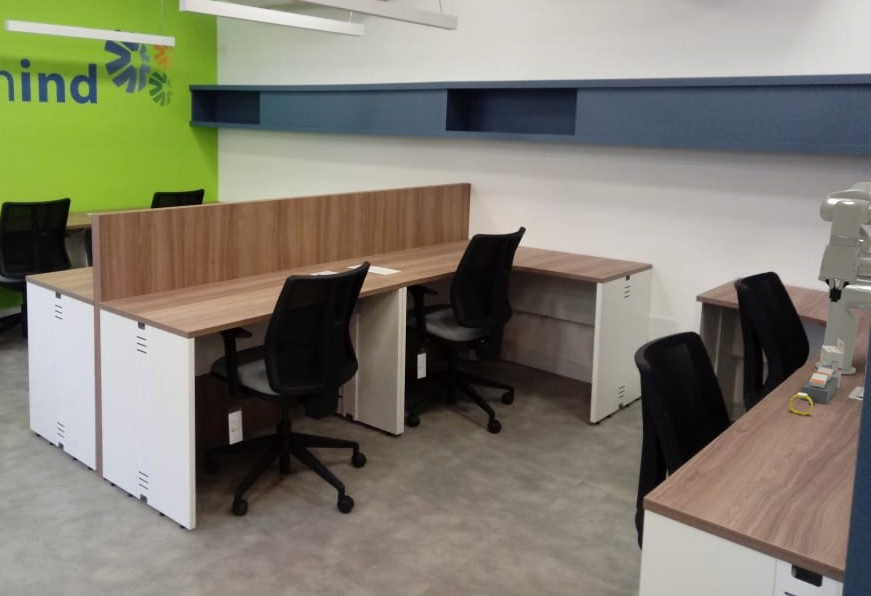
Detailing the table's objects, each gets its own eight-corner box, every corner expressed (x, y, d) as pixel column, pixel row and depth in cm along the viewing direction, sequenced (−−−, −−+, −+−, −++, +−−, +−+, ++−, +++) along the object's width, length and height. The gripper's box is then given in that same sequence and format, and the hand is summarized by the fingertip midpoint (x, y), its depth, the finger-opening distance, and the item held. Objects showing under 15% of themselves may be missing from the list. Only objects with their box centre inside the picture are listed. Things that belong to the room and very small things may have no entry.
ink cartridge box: (816, 379, 261) (822, 335, 258) (832, 380, 261) (838, 337, 258) (823, 386, 253) (829, 342, 250) (839, 388, 252) (846, 343, 249)
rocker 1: (813, 376, 243) (813, 372, 243) (827, 379, 241) (828, 375, 240) (809, 385, 239) (809, 381, 239) (823, 388, 237) (824, 383, 237)
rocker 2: (819, 370, 251) (819, 366, 250) (832, 373, 248) (833, 369, 248) (815, 378, 247) (815, 373, 246) (829, 380, 244) (829, 376, 244)
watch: (788, 413, 227) (789, 393, 226) (790, 410, 230) (791, 391, 229) (810, 416, 224) (812, 396, 223) (812, 414, 226) (814, 394, 225)
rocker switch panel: (812, 385, 254) (814, 371, 253) (836, 390, 250) (838, 375, 249) (797, 402, 236) (800, 387, 235) (823, 408, 232) (825, 392, 231)
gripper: (872, 243, 236) (863, 303, 240) (818, 238, 245) (810, 296, 248) (869, 246, 230) (859, 307, 234) (813, 240, 239) (805, 299, 242)
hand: (834, 301), depth 241 cm, fingers closed
